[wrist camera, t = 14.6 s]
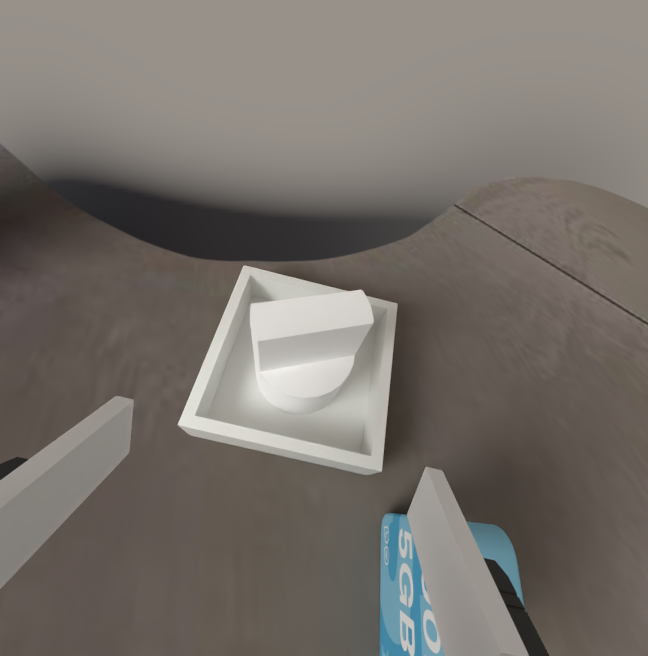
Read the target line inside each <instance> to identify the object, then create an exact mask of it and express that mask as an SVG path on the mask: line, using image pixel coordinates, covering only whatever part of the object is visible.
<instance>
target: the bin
mask: <svg viewBox="0 0 648 656" xmlns="http://www.w3.org/2000/svg"><path fill="white" fill-rule="evenodd" d="M339 292H347V291H345V290H341V289H337V288H333V287H329V286H325V285H321V284H317V283H313V282H309V281H305V280H301V279H297V278H293V277H289V276H285V275H281V274H277V273H273V272H269V271H265V270H261V269H257V268H253V267H249V266H245V265H244V266H243V268H242V271H241V273H240V276H239V278H238V281H237V283H236V285H235V288H234V290H233V293H232V295H231V297H230V300H229V302H228V305H227V307H226V310H225V312H224V314H223V317H222V319H221V322H220V324H219V326H218V329H217V331H216V334H215V336H214V339H213V341H212V343H211V346H210V348H209V351H208V353H207V355H206V358H205V360H204V363H203V365H202V368H201V370H200V372H199V375H198V377H197V380H196V382H195V384H194V387H193V389H192V392H191V394H190V397H189V399H188V401H187V404H186V406H185V409H184V411H183V413H182V416H181V418H180V421H179V423H178V426H180V427H181V428H182V429H183V430H185V431H186V432H187V433H188V434H190V435H191V436H195V437H200V438H204V439H209V440H213V441H217V442H222V443H226V444H230V445H235V446H239V447H244V448H248V449H252V450H257V451H261V452H266V453H270V454H274V455H279V456H283V457H288V458H292V459H296V460H301V461H305V462H309V463H314V464H318V465H323V466H327V467H331V468H336V469H340V470H345V471H349V472H353V473H358V474H362V475H370V474H374V473H378V472H382V464H383V453H384V443H385V432H386V421H387V411H388V400H389V389H390V379H391V368H392V357H393V347H394V336H395V326H396V315H397V303H393V302H389V301H385V300H381V299H377V298H373V297H369V296H366V297H367V299H368V301H369V303H370V305H371V309H372V313H373V318H374V322H373V325H372V326H371V328H370V330H369V332H368V333H367V335H366V337H365V338H364V340H363V342H362V343H361V345H360V347H359V349H358V350H357V352H356V354H355V356H354V364H353V366H352V369H351V371H350V374H349V376H348V377H347V379H346V380H345V382H344V383H343V385H342V387H341V388H340V390H339V391H338V393H337V394H336V396H335V397H334V398H333V400H332V401H331V402H330V403H329V404H328V405H326V406H325V407H324V408H322V409H321V410H318V411H316V412H313V413H310V414H301V415H296V414H290V413H285V412H283V411H281V410H279V409H277V408H275V407H274V406H273V405H272V404H270V403H269V402H268V401H267V400H266V399H265V397H264V396H263V394H262V393H261V391H260V389H259V386H258V383H257V379H256V371H255V362H254V353H253V344H252V335H251V326H250V306H251V304H253V303H261V302H269V301H277V300H284V299H292V298H300V297H308V296H316V295H324V294H331V293H339Z"/></svg>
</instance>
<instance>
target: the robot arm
mask: <svg viewBox="0 0 648 656" xmlns="http://www.w3.org/2000/svg"><path fill="white" fill-rule="evenodd" d="M133 404H134V400H132V399H128V398H123V397H119V396H115V397H114V398H113V399H111V400H110V401H108V402H107V403H106V404H104V405H103V406H102V407H100V408H99V409H98V410H96V411H95V412H93V413H92V414H91V415H89V416H88V417H87V418H85V419H84V420H82V421H81V422H80V423H78V424H77V425H76V426H74V427H73V428H71V429H70V430H69V431H67V432H66V433H65V434H63V435H62V436H60V437H59V438H58V439H56V440H55V441H54V442H52V443H51V444H49V445H48V446H47V447H45V448H44V449H43V450H41V451H40V452H38V453H37V454H36V455H34V456H33V457H32V458H30V459H24V458H20V457H16V458H14V459H11V460H9V461H7V462H4V463H2V464H0V589H1V588H2V587H3V585H4V584H5V583H6V582H7V581H8V580H9V579H10V578H11V577H12V576H13V575H14V574H15V573H16V572H17V571H18V570H19V569H20V568H21V566H22V565H23V564H24V563H25V562H26V561H27V560H28V559H29V558H30V557H31V556H32V555H33V554H34V553H35V552H36V551H37V550H38V549H39V547H40V546H41V545H42V544H43V543H44V542H45V541H46V540H47V539H48V538H49V537H50V536H51V535H52V534H53V533H54V532H55V531H56V530H57V529H58V527H59V526H60V525H61V524H62V523H63V522H64V521H65V520H66V519H67V518H68V517H69V516H70V515H71V514H72V513H73V512H74V511H75V510H76V508H77V507H78V506H79V505H80V504H81V503H82V502H83V501H84V500H85V499H86V498H87V497H88V496H89V495H90V494H91V493H92V492H93V491H94V490H95V488H96V487H97V486H98V485H99V484H100V483H101V482H102V481H103V480H104V479H105V478H106V477H107V476H108V475H109V474H110V473H111V472H112V471H113V469H114V468H115V467H116V466H117V465H118V464H119V463H120V462H121V461H122V460H123V459H124V458H125V457H126V456H127V455H128V454H129V450H130V439H131V427H132V416H133ZM407 517H408V521H409V524H410V528H411V532H412V536H413V539H414V543H415V547H416V551H417V555H418V558H419V562H420V566H421V570H422V573H423V577H424V581H425V585H426V588H427V592H428V596H429V600H430V603H431V607H432V611H433V615H434V618H435V622H436V626H437V630H438V633H439V637H440V641H441V645H442V648H443V652H444V656H549V654H548V652H547V650H546V649H545V647H544V645H543V643H542V641H541V639H540V637H539V635H538V633H537V631H536V629H535V627H534V625H533V623H532V621H531V620H530V618H529V616H528V614H527V612H525V608H524V606H523V604H522V602H521V600H520V598H519V597H517V592H516V590H515V589H514V587H513V585H512V583H511V581H510V579H509V577H508V576H507V574H506V573H505V572H504V571H503V569H502V568H501V567H500V566H499V565H498V563H497V562H496V561H495V560H491V559H487V558H483V556H482V554H481V552H480V550H479V548H478V546H477V544H476V541H475V539H474V537H473V535H472V533H471V531H470V529H469V526H468V524H467V522H466V520H465V518H464V516H463V514H462V512H461V509H460V507H459V505H458V503H457V501H456V499H455V497H454V494H453V492H452V490H451V488H450V486H449V484H448V482H447V480H446V477H445V475H444V473H443V471H442V470H438V469H434V468H430V467H425V470H424V472H423V475H422V477H421V480H420V482H419V485H418V487H417V490H416V493H415V495H414V498H413V500H412V503H411V505H410V508H409V510H408V513H407Z"/></svg>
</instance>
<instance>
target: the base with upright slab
mask: <svg viewBox="0 0 648 656" xmlns="http://www.w3.org/2000/svg"><path fill="white" fill-rule="evenodd" d="M373 322H374V318H373V313H372V309H371V305H370V303H369V301H368V299H367V297H366V295H365V293H364V292H363V291H362V290H355V291H347V292H339V293H331V294H324V295H316V296H308V297H300V298H292V299H284V300H277V301H269V302H261V303H253V304H251V306H250V326H251V335H252V344H253V353H254V362H255V371H256V379H257V383H258V386H259V389H260V391H261V393H262V394H263V396H264V397H265V399H266V400H267V401H268V402H269V403H270V404H272V405H273V406H274V407H275V408H277V409H279V410H281V411H283V412H285V413H290V414H296V415H301V414H310V413H313V412H316V411H318V410H321V409H322V408H324V407H325V406H326V405H328V404H329V403H330V402H331V401H332V400H333V398H334V397H335V396H336V394H337V393H338V391H339V390H340V388H341V387H342V385H343V383H344V382H345V380H346V379H347V377H348V376H349V374H350V371H351V369H352V366H353V364H354V356H355V354H356V352H357V350H358V349H359V347H360V345H361V343H362V342H363V340H364V338H365V337H366V335H367V333H368V332H369V330H370V328H371V326H372V325H373Z"/></svg>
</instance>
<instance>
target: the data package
mask: <svg viewBox="0 0 648 656" xmlns="http://www.w3.org/2000/svg"><path fill="white" fill-rule="evenodd" d="M466 522H467V521H466ZM467 524H468V526H469V529H470V531H471V533H472V535H473V537H474V539H475V541H476V544H477V546H478V548H479V550H480V552H481V554H482V556H483V558H487V559H491V560H495V561H496V562H497V563H498V565H499V566H500V567H501V568H502V569H503V571H504V572H505V573H506V574H507V576H508V577H509V579H510V581H511V583H512V585H513V587H514V589H515V590H516V592H517V597H519V598H520V600H521V602H522V604H523V606H524V601H523V595H522V589H521V582H520V576H519V570H518V563H517V558H516V554H515V550H514V548H513V545H512V543H511V541H510V539H509V537H508V536H507V535H506V533H505V532H504V531H503V530H502V529H501V528H499V527H498V526H496V525H493V524H484V523H475V522H467ZM524 608H525V607H524ZM380 656H444V652H443V648H442V645H441V641H440V637H439V633H438V630H437V626H436V622H435V618H434V615H433V611H432V607H431V603H430V600H429V596H428V592H427V588H426V585H425V581H424V577H423V573H422V570H421V566H420V562H419V558H418V555H417V551H416V547H415V543H414V539H413V536H412V532H411V528H410V524H409V521H408V517H407V515H405V514H396V513H387V514H385V516H384V518H383V521H382V526H381V579H380Z"/></svg>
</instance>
